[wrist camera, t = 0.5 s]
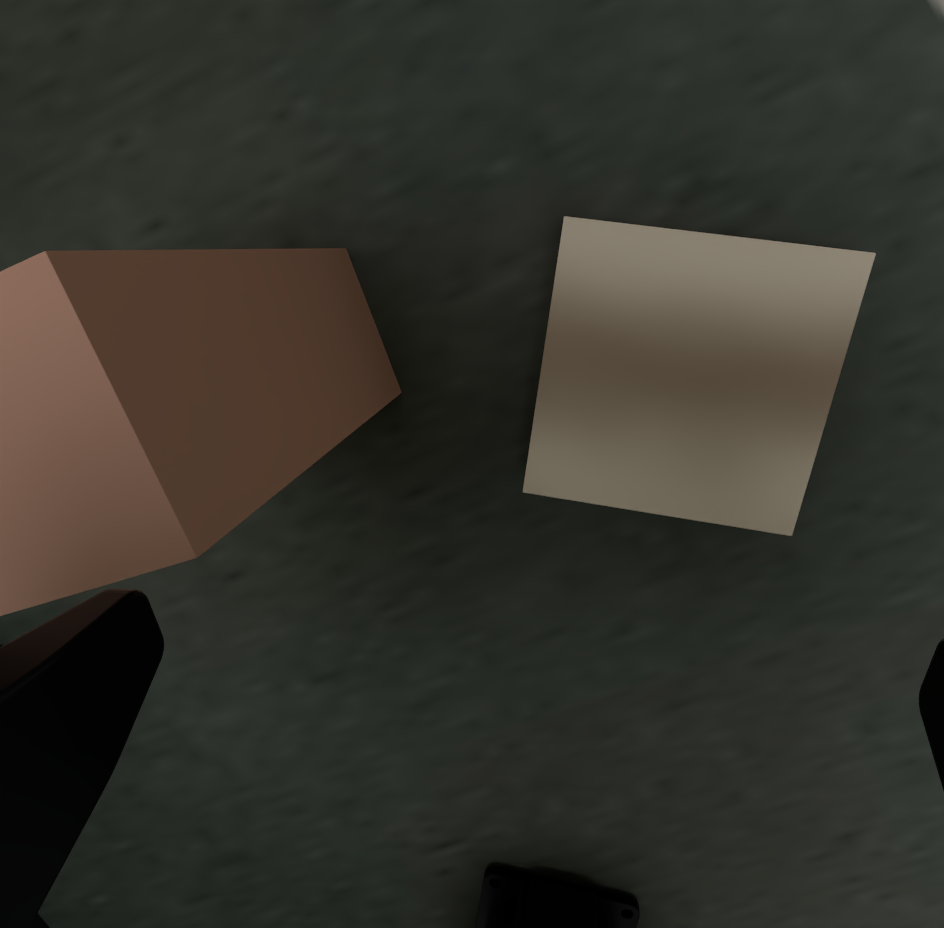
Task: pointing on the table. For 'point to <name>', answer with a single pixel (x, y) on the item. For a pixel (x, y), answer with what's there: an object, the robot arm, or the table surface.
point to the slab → (690, 371)
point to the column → (167, 402)
